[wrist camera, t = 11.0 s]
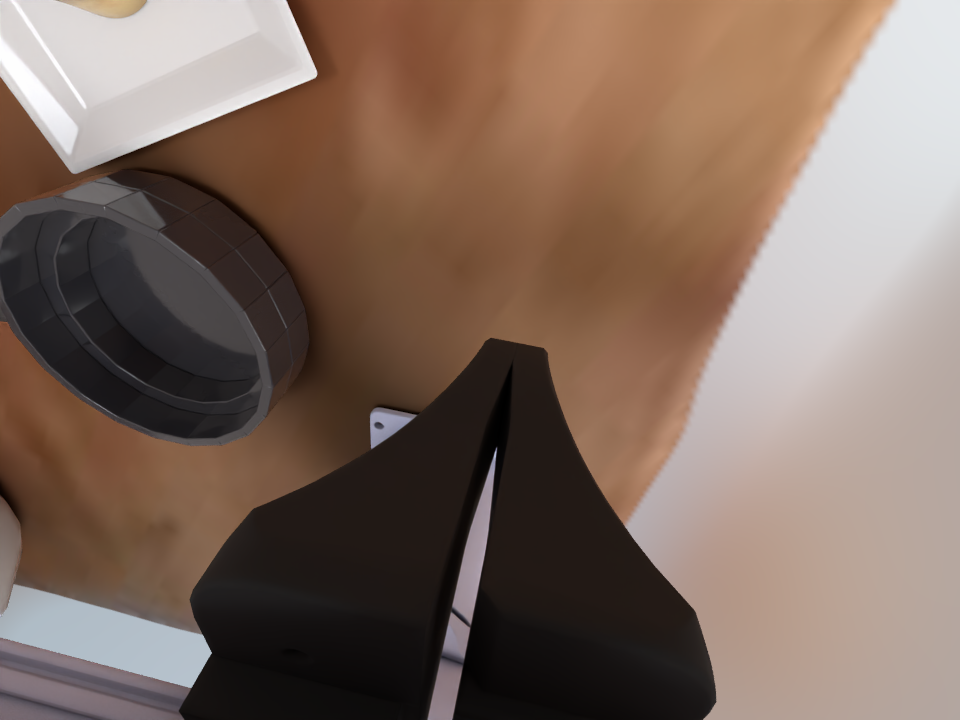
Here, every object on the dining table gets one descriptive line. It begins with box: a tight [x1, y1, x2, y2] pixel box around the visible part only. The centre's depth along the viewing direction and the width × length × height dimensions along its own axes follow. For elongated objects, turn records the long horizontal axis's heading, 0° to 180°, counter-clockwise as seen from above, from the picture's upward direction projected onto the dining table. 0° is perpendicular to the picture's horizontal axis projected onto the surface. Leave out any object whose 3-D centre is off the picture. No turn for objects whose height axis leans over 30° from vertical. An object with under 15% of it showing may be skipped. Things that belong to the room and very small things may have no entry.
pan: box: [0, 169, 309, 446], centre depth 23 cm, size 12×12×4 cm
